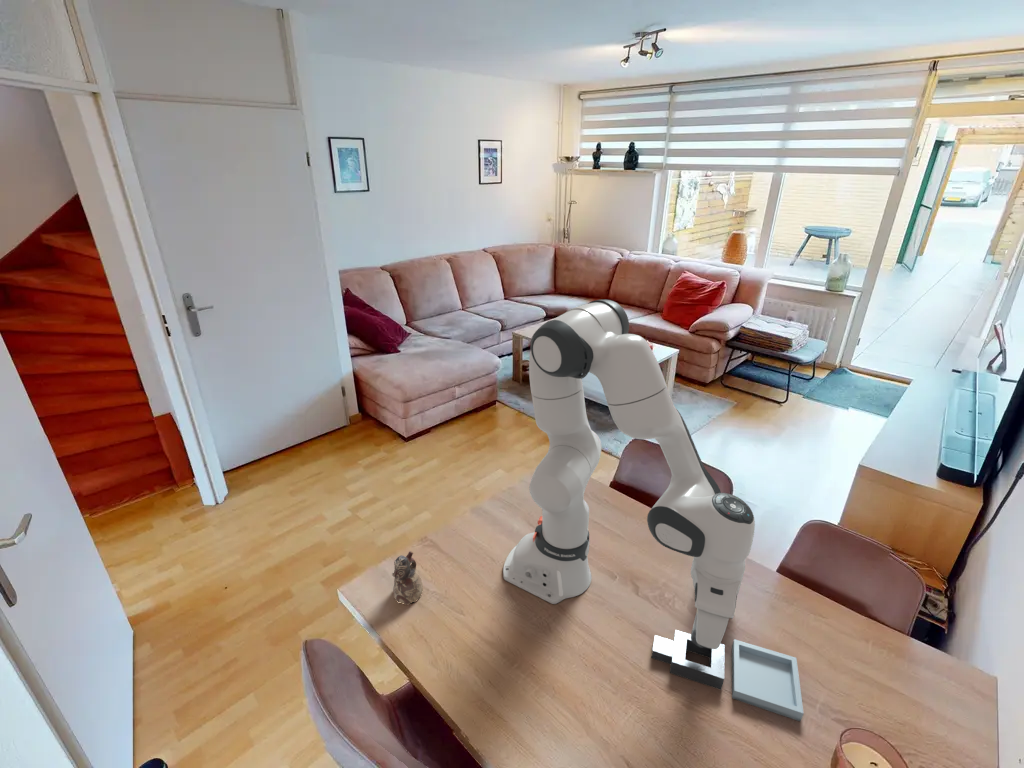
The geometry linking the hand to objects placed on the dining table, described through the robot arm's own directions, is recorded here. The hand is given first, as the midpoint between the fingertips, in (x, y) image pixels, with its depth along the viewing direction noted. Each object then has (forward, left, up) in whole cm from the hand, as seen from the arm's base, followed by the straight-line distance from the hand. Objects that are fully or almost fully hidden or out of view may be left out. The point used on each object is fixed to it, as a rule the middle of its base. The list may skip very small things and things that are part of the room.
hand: (703, 622), depth 99 cm
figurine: (-67, -6, -13) cm, 68 cm away
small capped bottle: (0, 0, -5) cm, 5 cm away
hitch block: (-2, 0, -13) cm, 13 cm away
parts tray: (+13, +1, -13) cm, 18 cm away
